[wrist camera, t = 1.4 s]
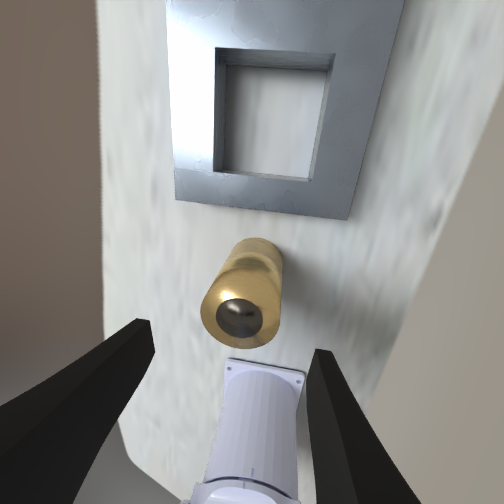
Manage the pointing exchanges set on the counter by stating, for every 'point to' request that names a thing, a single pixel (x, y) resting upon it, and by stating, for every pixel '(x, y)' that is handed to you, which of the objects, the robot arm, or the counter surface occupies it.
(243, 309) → the bushing
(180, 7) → the plate
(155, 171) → the counter surface
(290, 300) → the counter surface
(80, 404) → the robot arm
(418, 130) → the counter surface
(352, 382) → the counter surface
